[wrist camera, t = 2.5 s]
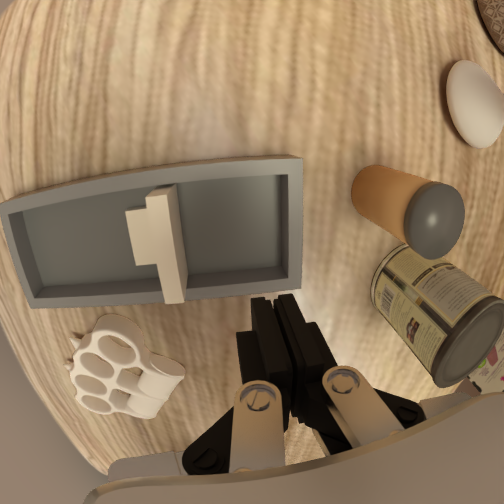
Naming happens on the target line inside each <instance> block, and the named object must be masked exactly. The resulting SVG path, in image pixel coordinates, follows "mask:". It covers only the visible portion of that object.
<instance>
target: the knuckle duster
mask: <svg viewBox="0 0 504 504" xmlns="http://www.w3.org/2000/svg"><path fill="white" fill-rule="evenodd" d="M108 335H111V336H115V337H118V338H120V339H122V340H123V341H124V342H126V343H127V344H128V345H130V346H131V347H132V348H125V347H122V346H120V345H118V344H116V343H115V342H114V341H113V340H111V339H110V338H109V337H108ZM69 338H70V340H71V342H72V344H73V346H74V347H75V349H76V350H75V352H74V354H73V359H74V362H73V363H69V364H64V366H65V367H66V368H67V369H68V370H69V372H70V377H71V382H72V383H73V384H74V385H75V387H76V389H77V391H76V394H75V398H76V400H77V401H78V402H79V403H80V404H81V405H82V406H83V407H85V408H86V409H88V410H90V411H92V412H95V413H98V414H104V415H107V414H112V413H114V412H123V413H126V414H129V415H131V416H134V417H138V418H143V419H151V418H155V417H156V413H157V412H158V411H159V409H160V408H161V407H162V405H163V404H164V402H165V401H167V400H168V399H169V395H170V394H171V393H172V391H173V390H174V389H175V387H176V386H177V384H178V383H179V382H180V380H183V378H184V375H185V369H184V367H183V366H182V365H181V364H179V363H178V362H177V361H174V360H172V359H169V358H167V357H164V356H162V355H157V354H155V353H152V352H150V351H149V350H148V348H147V347H146V346H145V345H144V335H143V333H142V331H141V329H140V328H139V327H138V326H137V325H136V324H135V323H134V322H133V321H131V320H130V319H128V318H126V317H124V316H121V315H117V314H107V315H103V316H101V317H100V318H99V319H98V321H97V323H96V325H95V327H94V329H93V331H92V332H91V333H88V334H85V335H84V337H83V338H82V339H78V338H72V337H69ZM92 353H94V354H97V355H99V356H100V357H102V358H103V359H104V360H106V361H107V362H105V361H103V360H101V359H99V358H98V357H96V356H95V355H94V354H92ZM132 367H139V368H141V369H142V370H143V373H142V374H141V376H138V375H136V374H133V373H131V372H129V371H126V370H124V369H123V368H132ZM117 389H119V390H122V391H124V392H127V393H129V394H131V395H128V394H121V393H119V391H118V390H117Z"/></svg>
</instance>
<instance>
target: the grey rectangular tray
mask: <svg viewBox="0 0 504 504" xmlns="http://www.w3.org/2000/svg"><path fill="white" fill-rule="evenodd" d="M172 183H176V187H177V196H178V204H179V212H180V220H181V228H182V235H183V242H184V249H185V255H186V262H187V268H188V279H187V286H186V293H185V301H189V300H201V299H211V298H222V297H232V296H241V295H251V294H260V293H268V292H277V291H285V290H293V289H301V279H302V247H303V158H299V157H296V156H293V155H271V156H250V157H235V158H221V159H210V160H200V161H190V162H181V163H173V164H165V165H158V166H151V167H144V168H138V169H131V170H125V171H120V172H114V173H109V174H103V175H98V176H93V177H88V178H84V179H79V180H74V181H70V182H66V183H61V184H57V185H53V186H49V187H45V188H42V189H38V190H34V191H30V192H27V193H23V194H20V195H17V196H15V197H13V198H10V199H8V200H6V201H4V202H2V203H0V216H1V221H2V225H3V229H4V233H5V237H6V240H7V244H8V247H9V251H10V254H11V257H12V260H13V263H14V266H15V269H16V272H17V275H18V278H19V280H20V283H21V286H22V288H23V291H24V293H25V296H26V298H27V301H28V303H29V306H30V308H31V309H35V308H75V307H99V306H119V305H135V304H150V303H164V302H165V300H164V296H163V291H162V287H161V282H160V278H159V273H158V268H157V264H148V265H138V266H136V263H135V259H134V254H133V249H132V245H131V240H130V235H129V230H128V224H127V219H126V213H125V211H126V210H127V209H128V208H135V207H142V206H146V199H145V197H146V196H147V195H148V194H149V193H150V192H151V191H152V190H153V189H154V188H155V187H157V186H158V185H164V184H172Z"/></svg>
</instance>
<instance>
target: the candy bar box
mask: <svg viewBox="0 0 504 504" xmlns="http://www.w3.org/2000/svg"><path fill="white" fill-rule="evenodd" d="M467 377H468V379H469V380H470V381H471V382H472V384H473V385H474V386H475V387H476V388H477V390H478V391H479V392H480V393H481V394H486V393H492V392H504V328H503V331H502V333H501V335H500V337H499V339H498V341H497V342H496V344H495V346H494V347H493V349H492V350H491V352H490V353H489V355H488V356H487V357H486V358H485V359H484V361H483V362H482V363H481V364H480V365H479V366H478V367H477V368H476V369H475V370H474V371H473V372H472V373H471V374H470V375H468V376H467Z"/></svg>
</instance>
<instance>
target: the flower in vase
mask: <svg viewBox="0 0 504 504" xmlns="http://www.w3.org/2000/svg"><path fill="white" fill-rule="evenodd" d="M446 94H447V103H448V108H449V112H450V115H451V118H452V121H453V123H454V125H455V127H456V129H457V131H458V132H459V134H460V135H461V136H462V137H463V139H464V140H465V141H466V142H467V143H468V144H469V145H471V146H472V147H474V148H477V149H482V148H486V147H489V146H490V145H492V144H493V143H494V142H495V140H496V139H497V138H498V136H499V135H500V133H501V130H502V128H503V125H504V94H503V93H502V92H501V91H500V89H499V88H498V86H497V85H496V83H495V82H494V80H493V79H492V77H491V76H490V75H489V74H488V73H487V72H486V71H485V70H484V69H483V68H482V67H481V66H480V65H478V64H476V63H474V62H472V61H468V60H460V61H458V62H456V63H455V64H454V65H453V67H452V68H451V70H450V72H449V75H448V78H447V85H446Z"/></svg>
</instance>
